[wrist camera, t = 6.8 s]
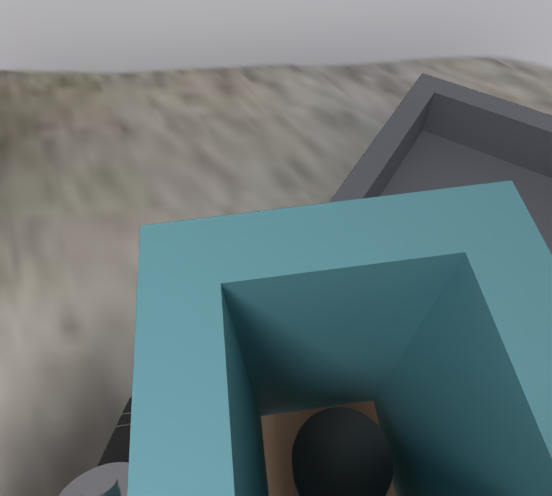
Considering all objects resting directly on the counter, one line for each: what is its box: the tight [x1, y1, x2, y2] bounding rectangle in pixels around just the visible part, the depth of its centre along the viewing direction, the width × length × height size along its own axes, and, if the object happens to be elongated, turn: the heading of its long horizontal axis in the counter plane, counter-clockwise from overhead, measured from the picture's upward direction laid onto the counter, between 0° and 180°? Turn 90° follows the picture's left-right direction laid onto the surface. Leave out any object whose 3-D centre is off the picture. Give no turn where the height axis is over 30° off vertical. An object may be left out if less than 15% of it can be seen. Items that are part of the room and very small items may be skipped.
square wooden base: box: [261, 401, 396, 496], centre depth 14 cm, size 8×8×8 cm
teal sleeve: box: [127, 180, 552, 496], centre depth 10 cm, size 6×8×9 cm
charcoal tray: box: [329, 73, 552, 254], centre depth 22 cm, size 13×13×4 cm
